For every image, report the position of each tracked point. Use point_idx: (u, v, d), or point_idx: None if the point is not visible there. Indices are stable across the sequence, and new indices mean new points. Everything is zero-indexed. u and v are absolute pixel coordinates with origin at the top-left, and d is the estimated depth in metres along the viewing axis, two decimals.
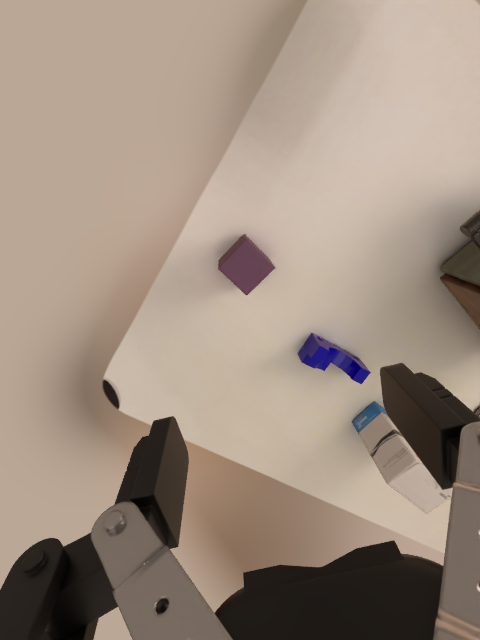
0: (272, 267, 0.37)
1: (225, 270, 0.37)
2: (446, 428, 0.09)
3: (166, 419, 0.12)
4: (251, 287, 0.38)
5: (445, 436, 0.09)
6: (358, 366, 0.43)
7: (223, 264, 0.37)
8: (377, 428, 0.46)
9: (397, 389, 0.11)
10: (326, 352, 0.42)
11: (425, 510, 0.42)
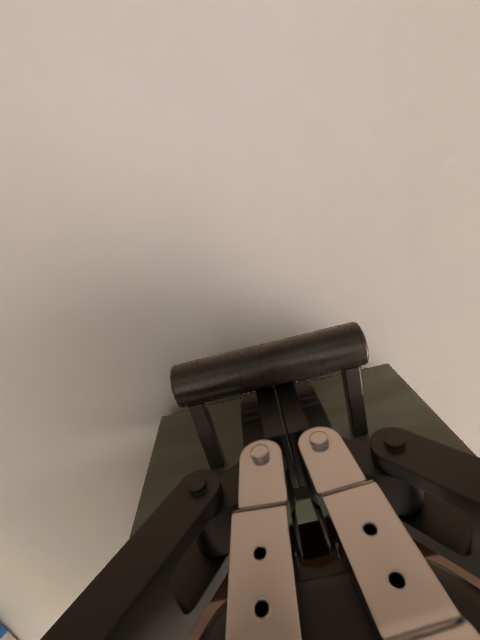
0: None
1: None
2: (294, 432, 0.10)
3: None
4: None
5: (293, 439, 0.10)
6: None
7: None
8: None
9: (278, 396, 0.12)
10: None
11: None
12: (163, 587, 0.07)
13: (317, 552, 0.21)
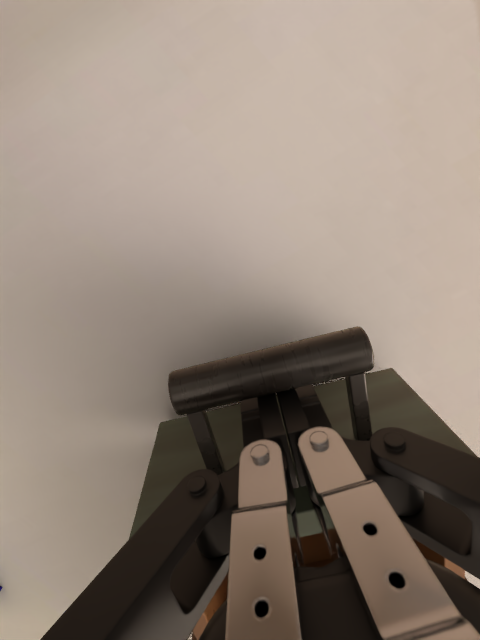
0: None
1: None
2: (294, 432, 0.10)
3: None
4: None
5: (293, 439, 0.10)
6: None
7: None
8: None
9: (278, 396, 0.12)
10: None
11: None
12: (163, 587, 0.07)
13: (319, 560, 0.21)
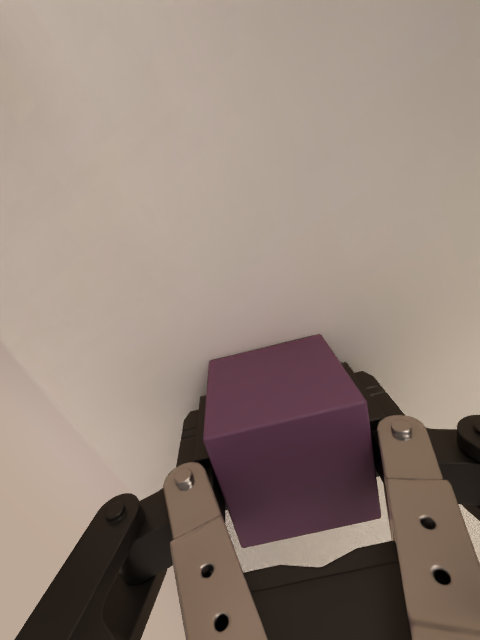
0: (358, 409, 0.09)
1: (261, 535, 0.10)
2: None
3: None
4: (369, 496, 0.10)
5: None
6: None
7: (239, 532, 0.10)
8: None
9: None
10: None
11: None
12: (95, 622, 0.07)
13: None
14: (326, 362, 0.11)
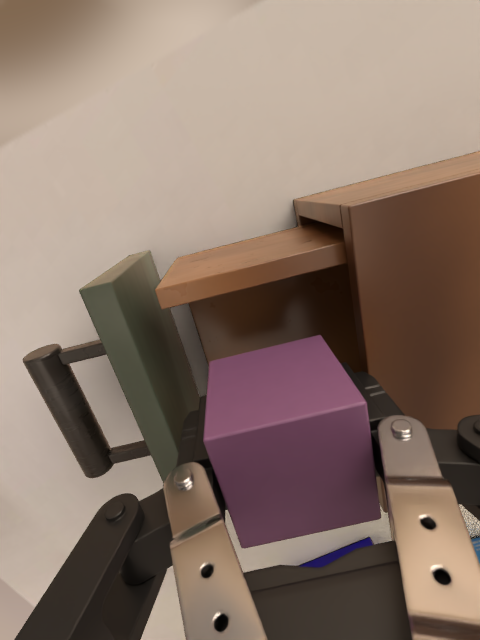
0: (358, 410, 0.09)
1: (261, 535, 0.10)
2: None
3: None
4: (369, 497, 0.10)
5: None
6: None
7: (239, 532, 0.10)
8: None
9: None
10: None
11: None
12: (95, 622, 0.07)
13: None
14: (326, 363, 0.11)
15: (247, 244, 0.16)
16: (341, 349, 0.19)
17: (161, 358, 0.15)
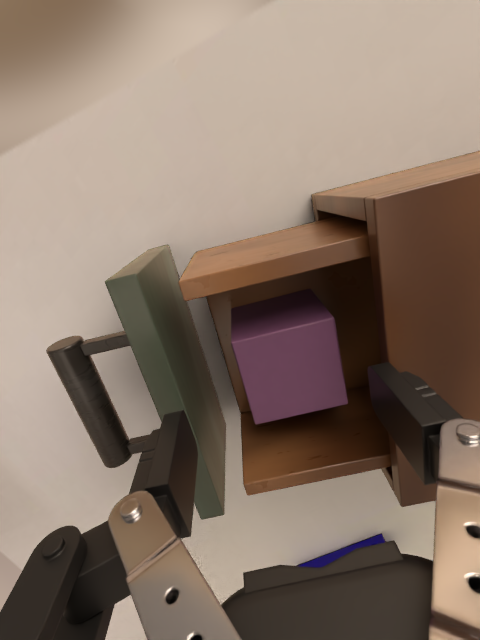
0: (329, 323, 0.14)
1: (268, 414, 0.16)
2: (427, 425, 0.09)
3: (176, 413, 0.12)
4: (339, 386, 0.15)
5: (426, 433, 0.09)
6: None
7: (254, 412, 0.16)
8: None
9: (383, 387, 0.11)
10: None
11: None
12: None
13: None
14: (312, 302, 0.16)
15: (266, 238, 0.16)
16: (357, 344, 0.19)
17: (181, 350, 0.16)
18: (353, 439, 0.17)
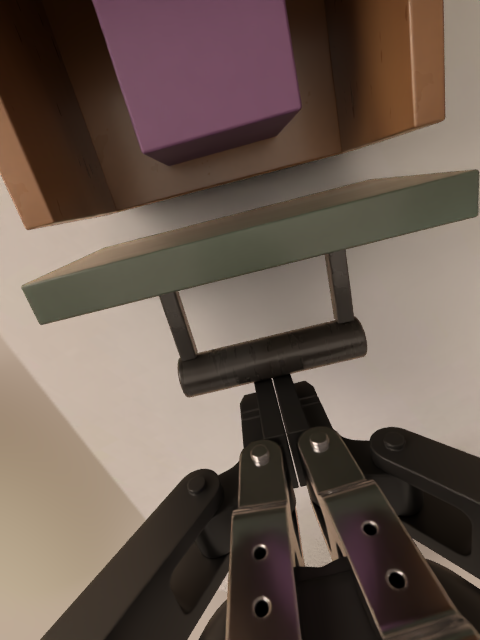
0: None
1: (281, 80, 0.09)
2: (294, 432, 0.10)
3: None
4: None
5: (293, 439, 0.10)
6: None
7: (274, 111, 0.09)
8: None
9: (278, 396, 0.12)
10: None
11: None
12: (163, 587, 0.07)
13: None
14: None
15: None
16: None
17: (184, 235, 0.11)
18: None
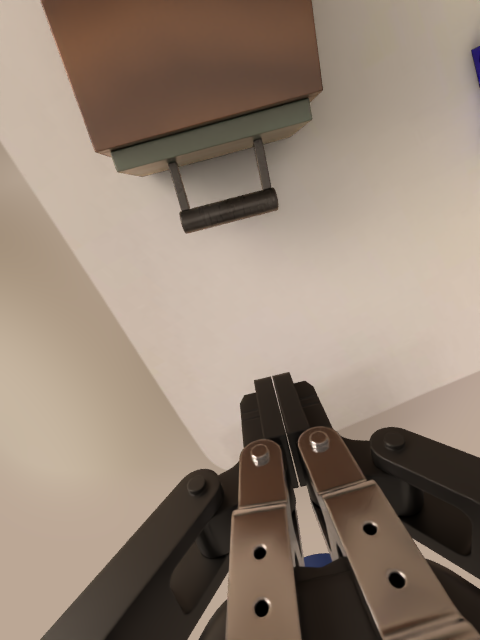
0: None
1: None
2: (294, 432, 0.10)
3: (267, 378, 0.13)
4: None
5: (293, 439, 0.10)
6: None
7: None
8: None
9: (278, 396, 0.12)
10: None
11: None
12: (163, 587, 0.07)
13: None
14: None
15: None
16: None
17: None
18: None
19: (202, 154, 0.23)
